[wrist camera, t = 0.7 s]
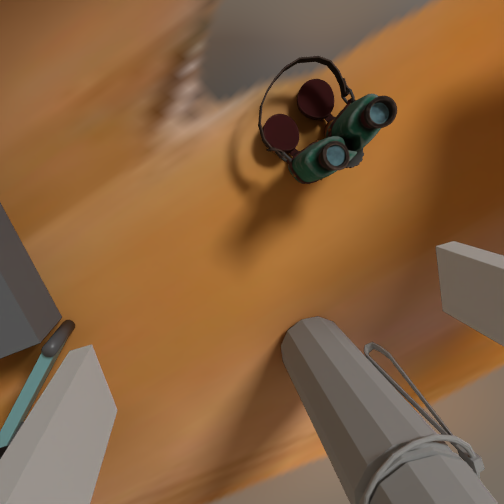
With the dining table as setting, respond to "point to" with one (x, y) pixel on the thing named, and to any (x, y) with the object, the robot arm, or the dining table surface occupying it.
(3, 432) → the side door
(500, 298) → the robot arm
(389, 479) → the water bottle
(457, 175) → the dining table surface
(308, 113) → the binoculars
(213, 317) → the dining table surface
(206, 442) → the dining table surface
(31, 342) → the block
